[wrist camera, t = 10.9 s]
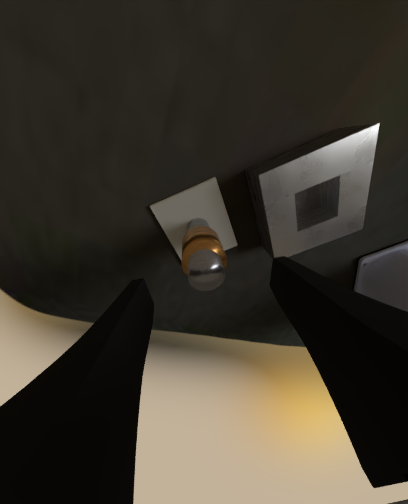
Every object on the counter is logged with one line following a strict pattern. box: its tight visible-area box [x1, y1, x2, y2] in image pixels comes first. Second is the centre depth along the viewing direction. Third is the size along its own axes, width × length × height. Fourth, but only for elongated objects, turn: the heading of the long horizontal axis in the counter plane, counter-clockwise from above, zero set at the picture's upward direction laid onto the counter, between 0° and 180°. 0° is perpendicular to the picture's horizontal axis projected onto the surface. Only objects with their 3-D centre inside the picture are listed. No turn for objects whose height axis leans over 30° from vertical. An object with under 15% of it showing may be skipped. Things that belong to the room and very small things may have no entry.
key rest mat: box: [150, 177, 238, 261], centre depth 16 cm, size 7×6×1 cm
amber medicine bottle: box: [182, 218, 227, 291], centre depth 13 cm, size 3×3×7 cm
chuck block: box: [245, 123, 379, 259], centre depth 14 cm, size 8×8×3 cm
